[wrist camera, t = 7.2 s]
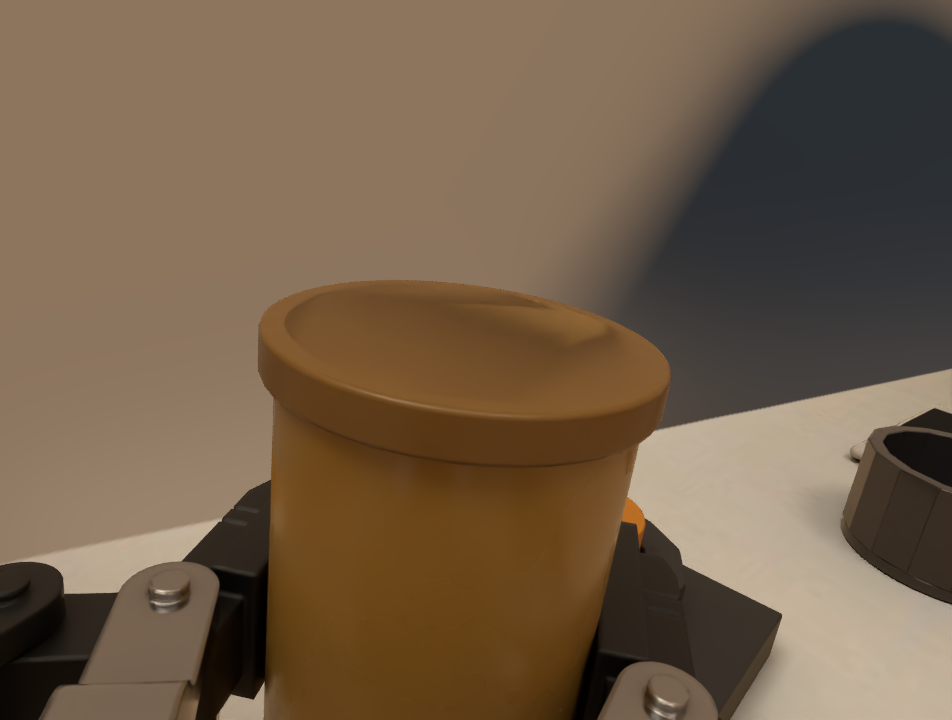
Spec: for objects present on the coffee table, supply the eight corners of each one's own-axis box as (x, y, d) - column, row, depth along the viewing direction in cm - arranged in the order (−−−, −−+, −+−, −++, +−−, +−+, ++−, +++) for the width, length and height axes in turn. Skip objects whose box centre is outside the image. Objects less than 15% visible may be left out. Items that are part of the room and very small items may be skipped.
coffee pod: (184, 947, 12) (171, 302, 9) (392, 765, 16) (450, 268, 12) (387, 1241, 10) (509, 469, 6) (580, 934, 14) (734, 354, 10)
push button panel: (349, 613, 23) (356, 521, 22) (510, 516, 30) (522, 443, 29) (654, 844, 17) (686, 732, 16) (769, 654, 24) (798, 567, 22)
